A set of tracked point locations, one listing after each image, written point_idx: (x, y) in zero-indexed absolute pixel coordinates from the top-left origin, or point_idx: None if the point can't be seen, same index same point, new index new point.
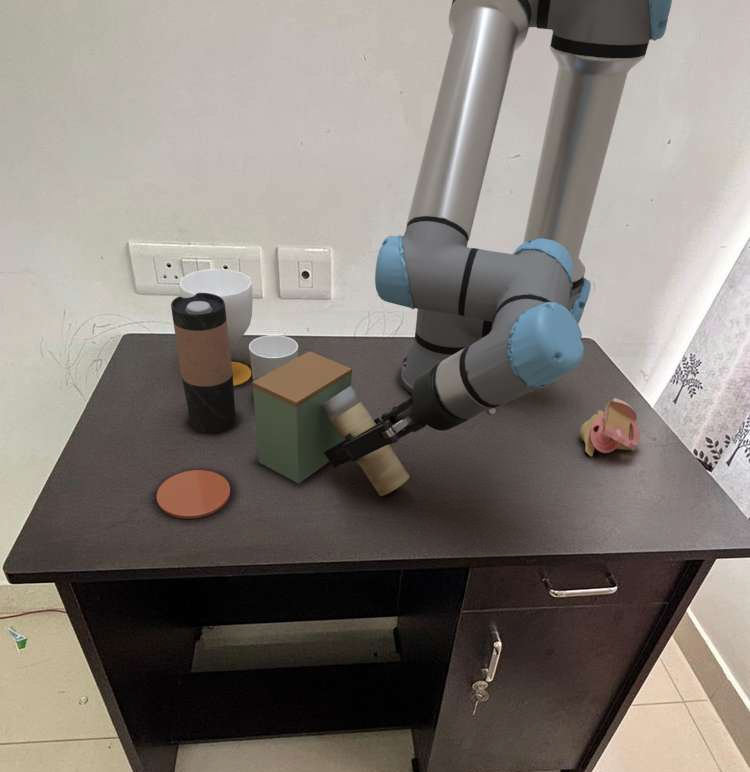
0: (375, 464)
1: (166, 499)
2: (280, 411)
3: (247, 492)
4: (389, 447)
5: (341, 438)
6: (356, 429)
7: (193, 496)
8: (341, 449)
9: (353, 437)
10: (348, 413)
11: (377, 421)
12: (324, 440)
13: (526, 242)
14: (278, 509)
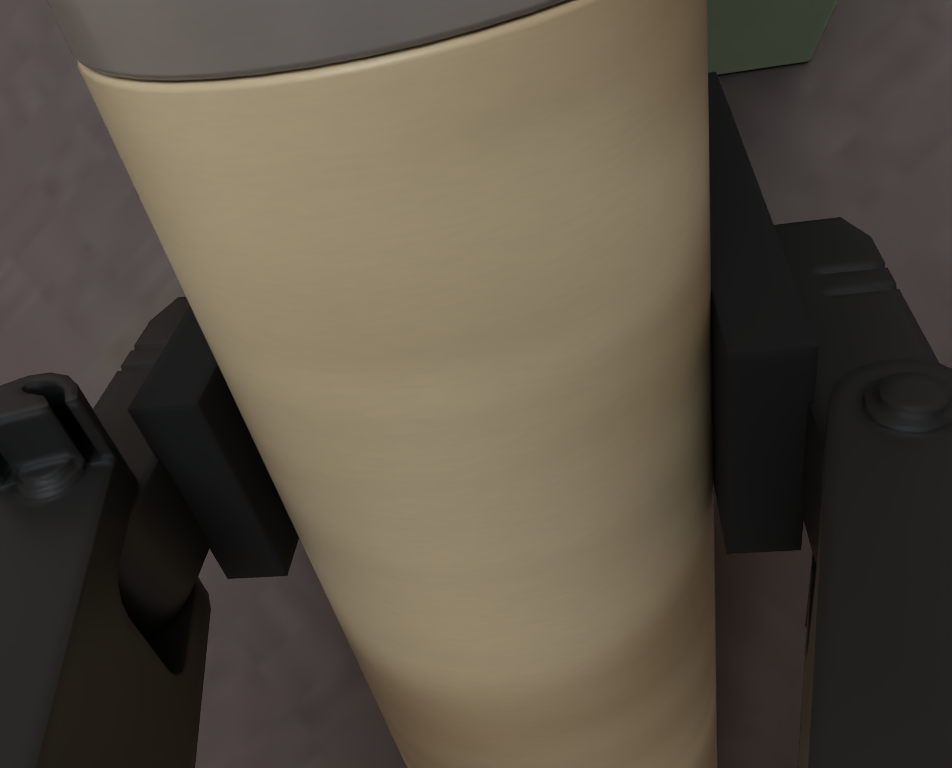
0: (369, 686)
1: None
2: None
3: (15, 6)
4: (606, 712)
5: (717, 8)
6: (239, 383)
7: None
8: (114, 379)
9: (187, 419)
10: (136, 134)
11: (749, 386)
12: None
13: None
14: (22, 239)
